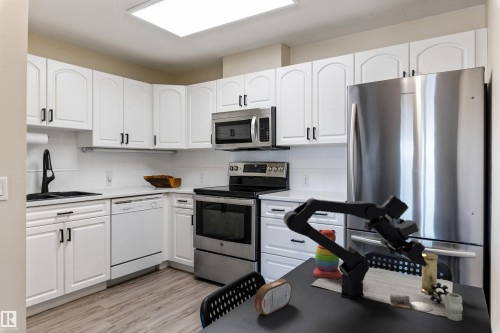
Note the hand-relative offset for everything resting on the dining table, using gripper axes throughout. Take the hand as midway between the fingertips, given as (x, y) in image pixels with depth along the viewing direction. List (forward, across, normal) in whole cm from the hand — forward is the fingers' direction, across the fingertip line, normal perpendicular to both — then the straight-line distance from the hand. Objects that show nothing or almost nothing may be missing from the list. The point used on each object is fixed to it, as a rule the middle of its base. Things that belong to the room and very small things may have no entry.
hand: (417, 261), depth 108 cm
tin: (-28, -9, +44) cm, 53 cm away
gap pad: (+4, -10, +11) cm, 16 cm away
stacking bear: (-10, +20, +26) cm, 34 cm away
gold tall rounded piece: (+11, 0, +5) cm, 12 cm away
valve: (+9, -14, +7) cm, 18 cm away
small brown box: (0, -8, +15) cm, 17 cm away
